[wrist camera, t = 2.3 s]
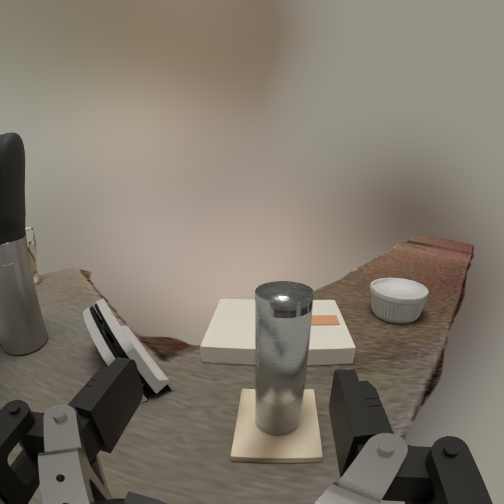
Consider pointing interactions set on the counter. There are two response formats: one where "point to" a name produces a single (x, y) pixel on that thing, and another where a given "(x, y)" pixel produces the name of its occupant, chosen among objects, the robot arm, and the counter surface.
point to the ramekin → (397, 299)
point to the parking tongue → (276, 447)
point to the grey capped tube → (281, 354)
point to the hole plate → (243, 334)
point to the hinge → (123, 347)
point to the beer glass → (32, 253)
